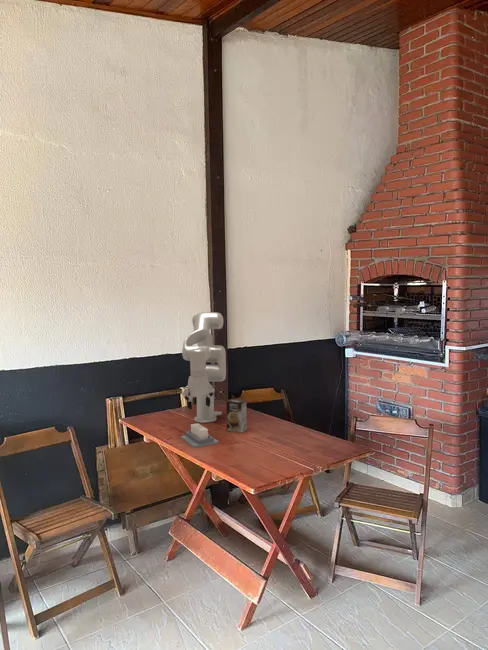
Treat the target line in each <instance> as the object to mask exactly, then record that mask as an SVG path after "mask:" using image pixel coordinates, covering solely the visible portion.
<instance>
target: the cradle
mask: <svg viewBox="0 0 488 650" xmlns="http://www.w3.org/2000/svg"><path fill="white" fill-rule="evenodd" d="M180 439H182V440H183V441H184V442H185V443H187V444H189V445H190V446H191V447H193V448H195V449H196V448H201V447H207V446H211V445H216V444H219V443H220V441H219V440H218V439H216V438H214V437H213V436H211V435H210V434H208V438H206V439H201V440H200V439H198V438H197V437H195V436H194V435H192V434H191V430H190V431H189V430H188V431H185V435H181V436H180Z"/></svg>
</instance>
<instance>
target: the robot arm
mask: <svg viewBox="0 0 488 650" xmlns="http://www.w3.org/2000/svg"><path fill="white" fill-rule="evenodd" d="M191 319H192V320H191V321H192V326H193V331H192V332H191V333H190V334H188V335H187V336H186V337H185V338H184V341H183V343H182V350H181V351H182V352H181V355H182V359H183V360H185V361H189V363H190V365H189V366H190V376H188V380H187V389H186V390H185V391H183V392H182V393H181V395H182V397H183V398H184V399H185V401H186V403H187V404H186V405H187V408H188V409H189V410H192V409H193V403H192V400H193V398H196V416H195V417H194V419H193V420H194V422H197V423H201V424H202V423H203V424H204V423H205V424H206V423H213V422H216V421H217V418H218V417H217V416H222V415H223V414H222V413H223V412H222V411H218V410H216V411H215V410H214V409H215V407H214V403H215V402H214V400H215V398H214V397H215V396H214V393H215V390H216V389H215V388H214V387H213V386H212V383H211V382H218V383H219V382H224V381H225V380H226V378H227V377H226V376H227V363H226V362H227V360H226V359H227V355H226V353H227V352H226V349H225V347H224V346H223V345H218V344H217V345H214V344H213V336H212V333H210V330H220V329H223V326H224V317H223V315H222V314H221V313H220V312H214V311H213V312H206V311H205V312H199V313H197V314H195V315H193V316H192V317H191ZM196 344H197V345H196ZM207 363H209V364H207ZM210 363H216V364H210ZM187 395H188V396H187Z"/></svg>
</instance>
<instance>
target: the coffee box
mask: <svg viewBox="0 0 488 650" xmlns="http://www.w3.org/2000/svg"><path fill="white" fill-rule="evenodd" d="M246 430H247V399H246V400H244V399H240V398H239V399H238V398H237V399H236V398H230V399H228V400H226V431H228V432H234V433H239V434H240V433H243V432H245V431H246Z"/></svg>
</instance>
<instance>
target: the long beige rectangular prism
mask: <svg viewBox="0 0 488 650" xmlns="http://www.w3.org/2000/svg"><path fill="white" fill-rule="evenodd" d="M190 431H191V434H192V435H194V436H195V437H197V438H198V439H200V440H201V439H206V438H208V435H209V429H208V428H207V427H205V426H203V424H202V425H201V424H200V422H197V423H192V424H190Z"/></svg>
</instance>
